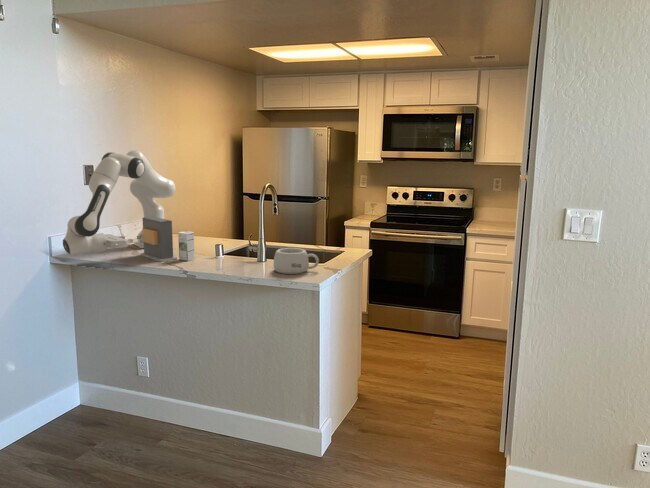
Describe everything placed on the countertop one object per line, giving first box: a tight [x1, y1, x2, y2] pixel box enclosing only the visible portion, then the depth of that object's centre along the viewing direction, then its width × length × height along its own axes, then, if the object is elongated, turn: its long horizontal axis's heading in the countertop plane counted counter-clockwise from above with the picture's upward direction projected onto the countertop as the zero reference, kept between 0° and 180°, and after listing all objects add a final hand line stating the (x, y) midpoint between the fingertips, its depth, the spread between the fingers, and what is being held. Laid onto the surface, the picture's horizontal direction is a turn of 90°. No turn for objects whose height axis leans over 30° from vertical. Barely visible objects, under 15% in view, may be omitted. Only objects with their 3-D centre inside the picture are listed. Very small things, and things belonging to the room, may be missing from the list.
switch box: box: [140, 217, 178, 263], centre depth 273 cm, size 22×9×20 cm, turn 44°
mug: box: [273, 247, 320, 275], centre depth 248 cm, size 21×17×10 cm
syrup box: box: [177, 230, 196, 262], centre depth 268 cm, size 6×6×14 cm
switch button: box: [141, 227, 158, 245], centre depth 270 cm, size 12×3×7 cm, turn 44°
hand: (128, 239), depth 262 cm, fingers open, 8 cm apart
